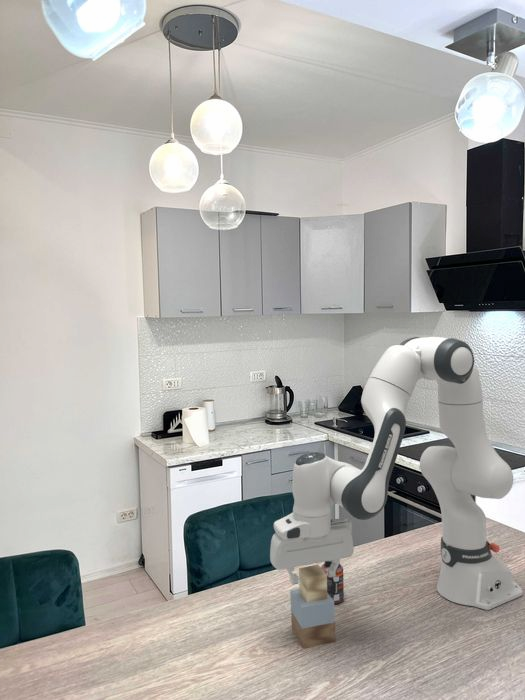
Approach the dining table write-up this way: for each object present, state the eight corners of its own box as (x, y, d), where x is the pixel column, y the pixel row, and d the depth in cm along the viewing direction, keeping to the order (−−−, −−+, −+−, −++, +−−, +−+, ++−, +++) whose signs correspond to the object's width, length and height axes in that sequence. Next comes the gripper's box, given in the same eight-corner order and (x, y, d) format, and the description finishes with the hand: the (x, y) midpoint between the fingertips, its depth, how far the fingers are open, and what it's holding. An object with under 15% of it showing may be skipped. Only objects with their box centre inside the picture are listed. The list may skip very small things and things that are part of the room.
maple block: (318, 588, 126) (317, 564, 125) (327, 598, 121) (326, 574, 120) (299, 592, 124) (298, 568, 124) (307, 603, 119) (307, 577, 119)
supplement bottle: (343, 606, 135) (342, 564, 134) (320, 604, 136) (319, 562, 136) (344, 594, 141) (343, 553, 140) (322, 592, 142) (321, 552, 142)
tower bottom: (321, 623, 128) (321, 604, 128) (335, 642, 120) (335, 621, 120) (291, 629, 126) (291, 609, 125) (303, 649, 118) (303, 628, 118)
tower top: (321, 604, 128) (321, 584, 127) (334, 622, 120) (334, 601, 120) (290, 610, 125) (290, 590, 125) (302, 628, 118) (301, 607, 117)
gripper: (345, 512, 128) (346, 566, 128) (267, 523, 121) (268, 580, 122) (357, 521, 122) (358, 578, 122) (275, 534, 115) (277, 594, 116)
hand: (313, 579), depth 122 cm, fingers open, 8 cm apart
